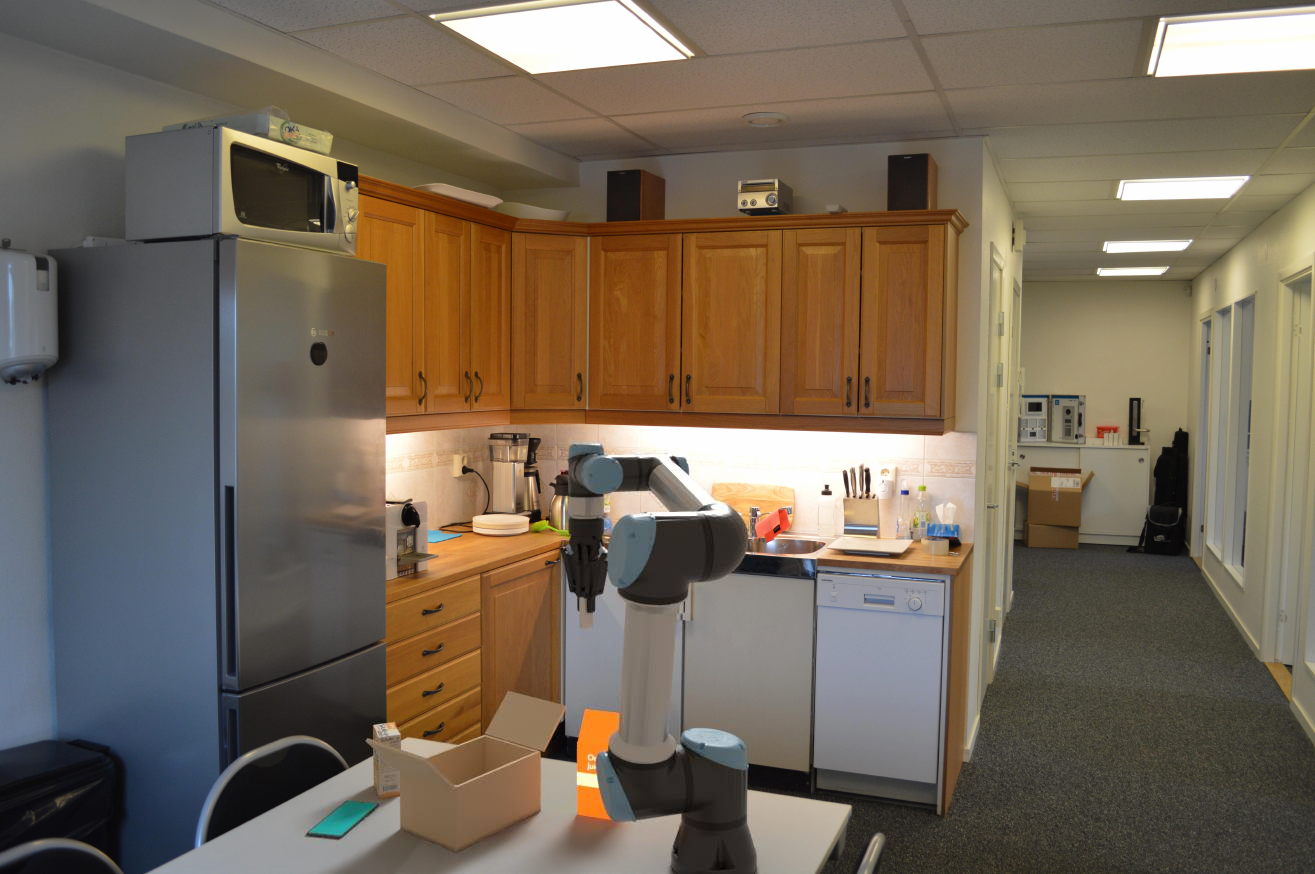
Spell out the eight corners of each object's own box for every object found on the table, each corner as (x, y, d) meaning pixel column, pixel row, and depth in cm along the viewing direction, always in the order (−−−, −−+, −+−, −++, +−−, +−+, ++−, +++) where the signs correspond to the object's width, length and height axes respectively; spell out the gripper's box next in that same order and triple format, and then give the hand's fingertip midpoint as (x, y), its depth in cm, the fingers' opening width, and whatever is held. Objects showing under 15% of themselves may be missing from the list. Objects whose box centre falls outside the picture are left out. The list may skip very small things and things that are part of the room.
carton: (540, 810, 187) (540, 751, 186) (456, 852, 169) (456, 787, 169) (485, 790, 196) (485, 734, 196) (400, 828, 178) (399, 766, 178)
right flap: (542, 750, 186) (544, 751, 187) (565, 705, 192) (566, 706, 192) (485, 732, 196) (486, 734, 197) (508, 690, 201) (509, 692, 202)
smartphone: (305, 833, 176) (346, 800, 190) (305, 837, 176) (346, 804, 190) (341, 836, 174) (380, 803, 189) (341, 841, 174) (380, 807, 189)
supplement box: (372, 784, 199) (371, 724, 199) (395, 781, 201) (395, 721, 201) (378, 799, 192) (377, 736, 191) (402, 795, 194) (401, 733, 193)
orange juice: (617, 820, 182) (617, 719, 181) (576, 814, 185) (576, 714, 184) (631, 804, 189) (631, 707, 189) (591, 798, 192) (591, 703, 192)
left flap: (426, 758, 162) (424, 761, 162) (456, 787, 168) (454, 790, 168) (367, 737, 172) (365, 740, 172) (397, 766, 178) (395, 768, 178)
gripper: (621, 516, 195) (621, 628, 196) (574, 512, 203) (574, 619, 204) (598, 520, 189) (598, 635, 190) (551, 515, 197) (551, 626, 198)
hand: (586, 627), depth 197 cm, fingers closed
